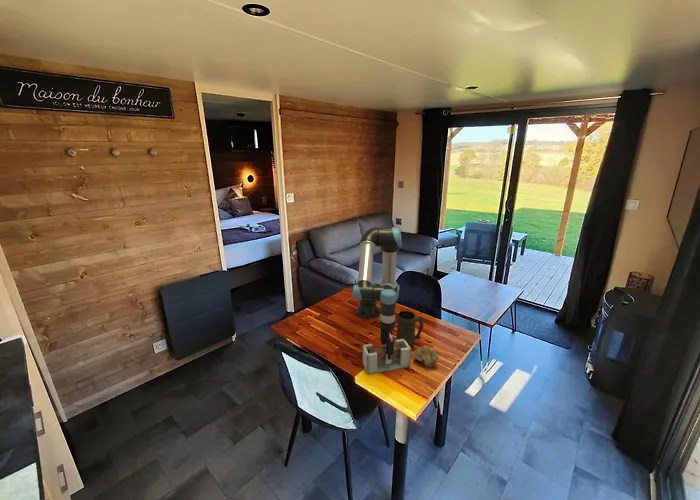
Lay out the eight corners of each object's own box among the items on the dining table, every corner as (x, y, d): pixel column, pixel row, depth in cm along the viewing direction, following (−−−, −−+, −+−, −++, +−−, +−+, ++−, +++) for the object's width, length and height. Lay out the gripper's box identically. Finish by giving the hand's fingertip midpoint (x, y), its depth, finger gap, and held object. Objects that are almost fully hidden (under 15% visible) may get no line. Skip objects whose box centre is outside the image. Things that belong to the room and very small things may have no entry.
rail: (370, 363, 151) (370, 353, 149) (368, 359, 154) (368, 349, 153) (403, 358, 155) (404, 348, 153) (400, 353, 158) (401, 343, 157)
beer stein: (399, 352, 166) (402, 320, 160) (391, 341, 176) (394, 310, 170) (423, 349, 170) (428, 317, 164) (414, 338, 180) (419, 308, 174)
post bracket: (362, 363, 158) (362, 345, 154) (403, 356, 163) (404, 338, 159) (367, 374, 149) (367, 355, 146) (410, 367, 154) (411, 348, 151)
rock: (433, 357, 162) (434, 341, 159) (439, 370, 152) (440, 353, 149) (411, 357, 161) (412, 341, 158) (415, 370, 151) (416, 354, 148)
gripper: (374, 311, 156) (373, 349, 163) (386, 331, 138) (385, 372, 145) (387, 310, 158) (386, 347, 164) (401, 329, 140) (399, 370, 147)
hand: (386, 359), depth 155 cm, fingers open, 6 cm apart
